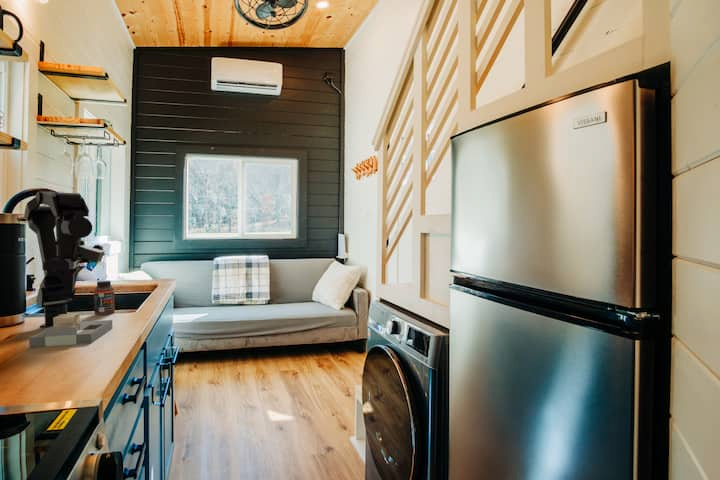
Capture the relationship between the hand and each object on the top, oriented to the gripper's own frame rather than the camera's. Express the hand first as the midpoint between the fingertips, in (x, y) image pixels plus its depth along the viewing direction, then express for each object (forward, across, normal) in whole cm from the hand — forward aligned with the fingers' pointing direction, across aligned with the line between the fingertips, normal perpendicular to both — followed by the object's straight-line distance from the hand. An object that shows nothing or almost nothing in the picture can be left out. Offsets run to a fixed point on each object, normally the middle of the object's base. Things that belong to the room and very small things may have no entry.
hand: (70, 291), depth 121 cm
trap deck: (+12, -6, -3) cm, 14 cm away
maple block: (+9, -10, -3) cm, 14 cm away
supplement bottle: (+12, +26, 0) cm, 29 cm away
